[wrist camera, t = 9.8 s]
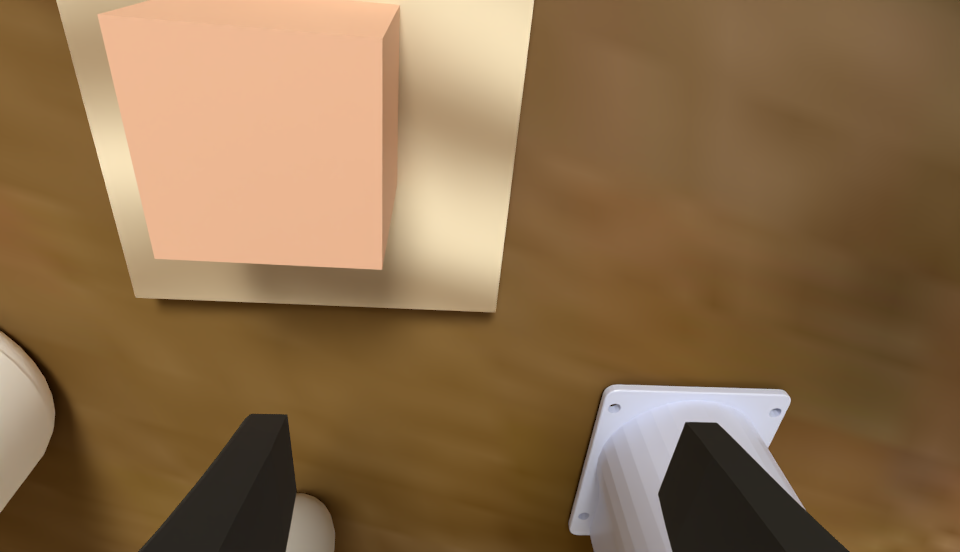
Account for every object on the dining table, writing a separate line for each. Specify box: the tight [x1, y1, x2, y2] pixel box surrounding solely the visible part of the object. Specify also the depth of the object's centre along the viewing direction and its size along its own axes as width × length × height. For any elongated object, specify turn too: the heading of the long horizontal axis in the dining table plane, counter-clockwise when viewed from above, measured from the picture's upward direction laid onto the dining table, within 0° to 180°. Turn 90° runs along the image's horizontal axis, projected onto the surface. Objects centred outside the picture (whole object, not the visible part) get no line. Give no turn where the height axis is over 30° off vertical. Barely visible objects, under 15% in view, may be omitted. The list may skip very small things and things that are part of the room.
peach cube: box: [97, 0, 400, 270], centre depth 14 cm, size 5×5×5 cm
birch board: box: [56, 0, 534, 312], centre depth 17 cm, size 14×12×1 cm
